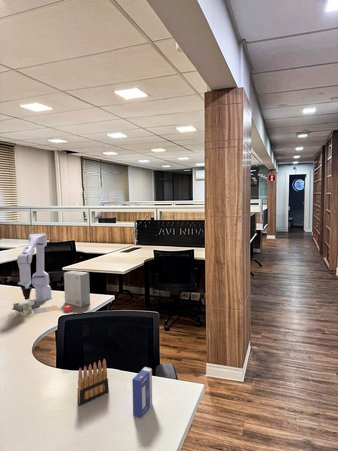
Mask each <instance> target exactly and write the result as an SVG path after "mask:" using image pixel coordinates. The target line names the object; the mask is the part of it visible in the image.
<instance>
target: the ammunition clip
mask: <svg viewBox="0 0 338 451" xmlns="http://www.w3.org/2000/svg"><path fill="white" fill-rule="evenodd" d="M87 368H88V369H87ZM108 393H110V391H109V378H108V368H107V361H106V359H105V358H103V360H102V362H101V360H98V364H97V363H96V361H94V363H93V368H92V365H91V364H90V363H89V366H88V367H87V365H84V367H83V371H82V368H81V367H79V369H78V380H77V399H76V400H77V402H76V403H77V405H79V406H81V407H82V406H83V405H85V404H87V403H90V402H92V401H94V400H96V399H98V398H100V397H102V396H104V395H107V394H108Z"/></svg>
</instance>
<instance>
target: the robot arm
mask: <svg viewBox="0 0 338 451" xmlns="http://www.w3.org/2000/svg"><path fill="white" fill-rule="evenodd" d="M47 244H48V237H47V235H46V233H30V234H29V235H28V245H26V246H25V247H24V248H23V250H22V252H21V254H19V255H17V258H16V260H17V261H16V263H17V265H18V268H19V282H17V285H19V287H20V289H21V291H22V295H23V297H24V299H25V300H24V301H28V300H30V298H31V292H32V289H33V288H34V293H35V298H32V300H33V301H35V302H38V303H41V302H44V301H47V300H48V301H49V300H52V299H53V297H52V287H51V286H50V285H49V284H50V275H49V273H48V272H46V271H45V247H47ZM35 248H36V249H35ZM35 250H36V255H35V256H36V263H35V264H36V265H35V266H36V268H35V269H36V271H35V272H34V273H33V274H32V273H31V263H32V260H33V255H34V254H35ZM31 274H32V277H31ZM31 285H32V286H31Z"/></svg>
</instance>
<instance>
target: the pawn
mask: <svg viewBox="0 0 338 451" xmlns="http://www.w3.org/2000/svg"><path fill="white" fill-rule="evenodd" d="M23 312H24V314H29V313H32V308H31V303H26V304H23Z"/></svg>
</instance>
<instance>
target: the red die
mask: <svg viewBox="0 0 338 451" xmlns="http://www.w3.org/2000/svg"><path fill="white" fill-rule="evenodd" d="M72 311H73V305H71V304H66V305H64V306H63V312H64V313H70V312H72Z"/></svg>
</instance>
